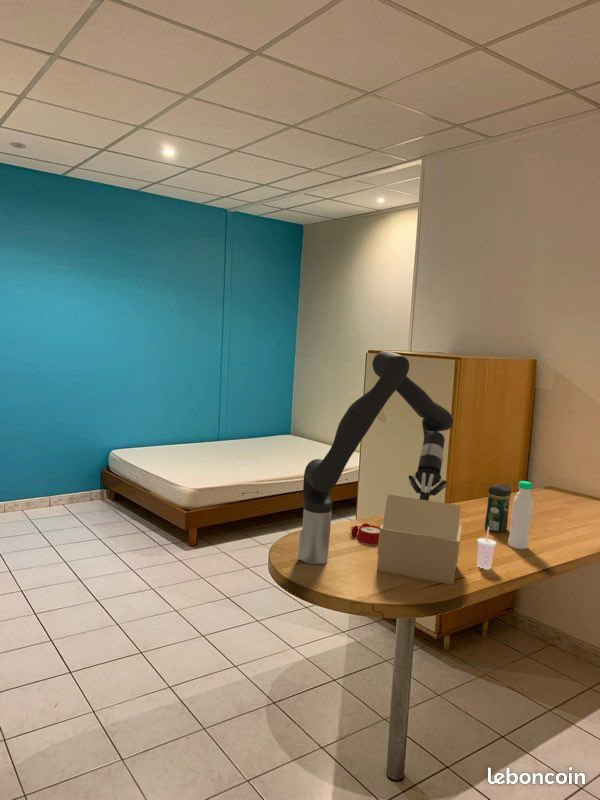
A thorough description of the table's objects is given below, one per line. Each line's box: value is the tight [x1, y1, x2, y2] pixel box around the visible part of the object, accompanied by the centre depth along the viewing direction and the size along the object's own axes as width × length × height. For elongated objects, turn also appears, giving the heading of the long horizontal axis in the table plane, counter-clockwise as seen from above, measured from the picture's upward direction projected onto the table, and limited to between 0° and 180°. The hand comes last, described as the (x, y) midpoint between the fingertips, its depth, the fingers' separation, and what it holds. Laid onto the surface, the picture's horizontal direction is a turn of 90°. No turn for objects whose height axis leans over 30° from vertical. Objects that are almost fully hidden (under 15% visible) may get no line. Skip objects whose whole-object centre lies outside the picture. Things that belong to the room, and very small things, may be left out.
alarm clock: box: [350, 522, 381, 545], centre depth 227 cm, size 10×6×15 cm
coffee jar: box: [484, 483, 512, 533], centre depth 249 cm, size 10×8×19 cm
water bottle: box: [507, 480, 534, 550], centre depth 229 cm, size 7×7×25 cm
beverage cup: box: [476, 527, 497, 570], centre depth 207 cm, size 6×6×14 cm
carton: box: [376, 523, 463, 586], centre depth 201 cm, size 25×18×14 cm
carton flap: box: [382, 494, 462, 541], centre depth 193 cm, size 23×11×1 cm
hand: (423, 504), depth 197 cm, fingers closed
